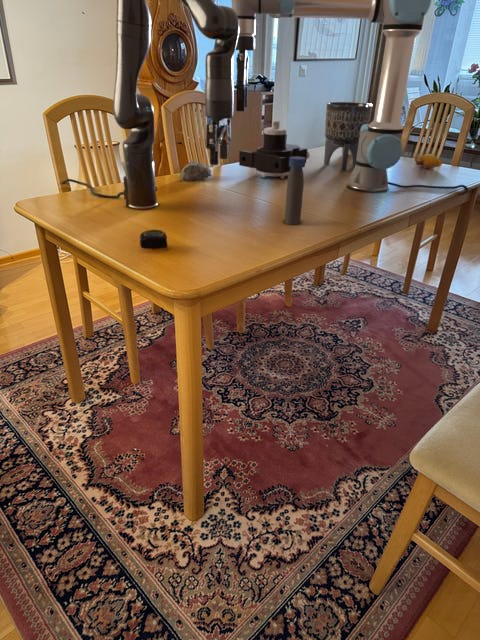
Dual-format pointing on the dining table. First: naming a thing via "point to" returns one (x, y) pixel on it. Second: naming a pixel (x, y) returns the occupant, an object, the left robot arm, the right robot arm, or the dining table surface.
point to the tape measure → (153, 239)
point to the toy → (428, 161)
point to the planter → (344, 129)
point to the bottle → (294, 196)
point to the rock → (195, 172)
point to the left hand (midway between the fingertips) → (219, 161)
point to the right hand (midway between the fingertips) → (241, 109)
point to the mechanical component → (272, 153)
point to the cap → (297, 162)
